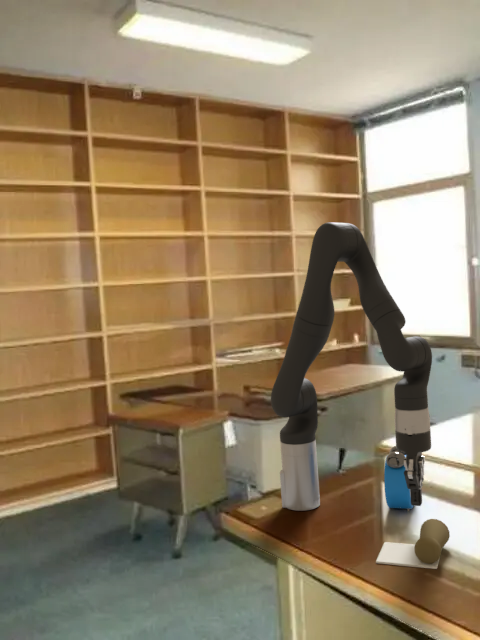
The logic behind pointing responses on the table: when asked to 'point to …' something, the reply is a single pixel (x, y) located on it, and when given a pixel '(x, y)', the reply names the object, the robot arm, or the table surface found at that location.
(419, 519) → the table surface
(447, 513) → the table surface
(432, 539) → the cork
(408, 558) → the mat
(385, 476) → the alarm clock
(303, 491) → the robot arm
